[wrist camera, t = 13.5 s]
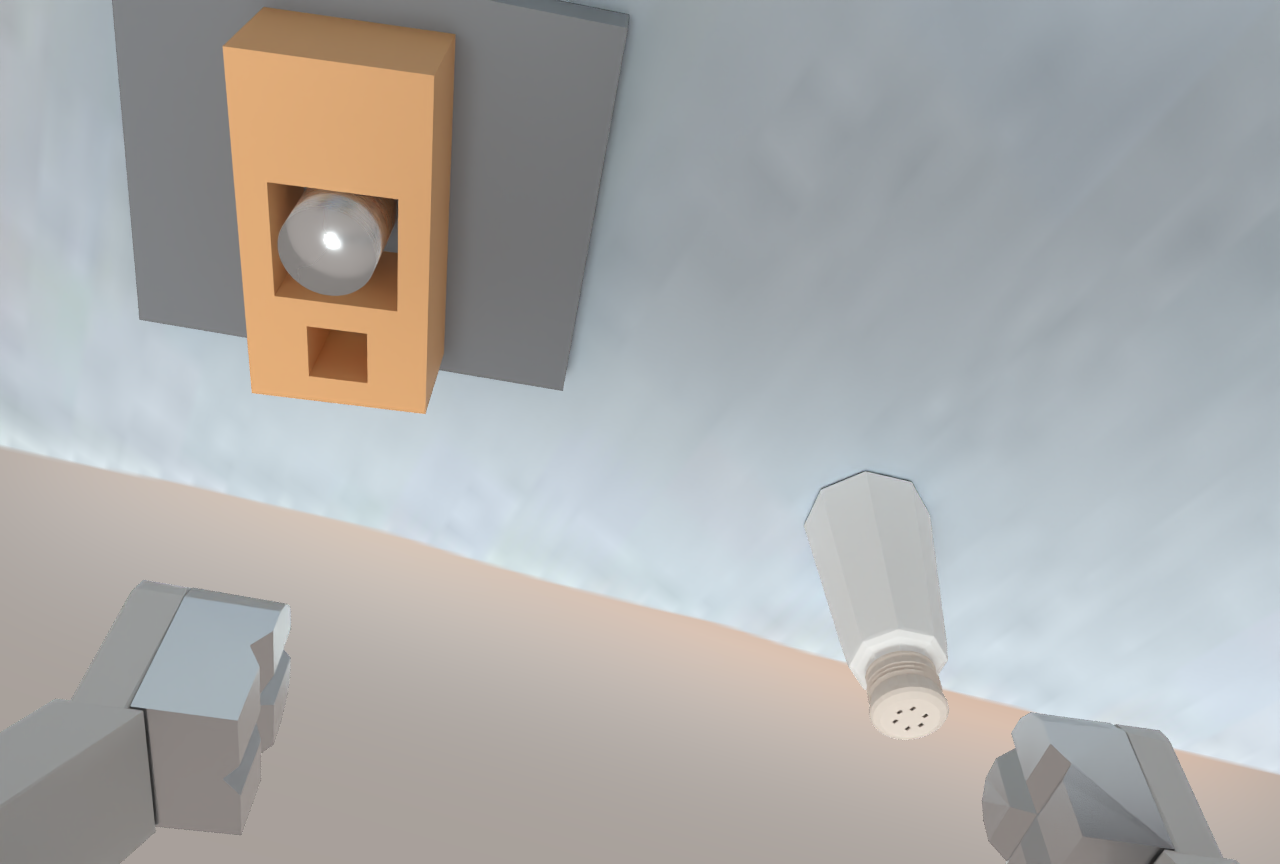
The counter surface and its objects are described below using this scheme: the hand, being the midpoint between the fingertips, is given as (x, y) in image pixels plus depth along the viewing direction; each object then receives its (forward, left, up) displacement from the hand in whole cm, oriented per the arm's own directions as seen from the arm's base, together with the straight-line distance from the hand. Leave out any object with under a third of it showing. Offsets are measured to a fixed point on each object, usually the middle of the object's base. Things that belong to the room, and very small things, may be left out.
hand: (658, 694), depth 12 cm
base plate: (+9, +8, -29) cm, 31 cm away
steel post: (+9, +8, -29) cm, 31 cm away
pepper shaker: (-13, +20, -29) cm, 38 cm away
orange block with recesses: (+9, +8, -28) cm, 30 cm away
